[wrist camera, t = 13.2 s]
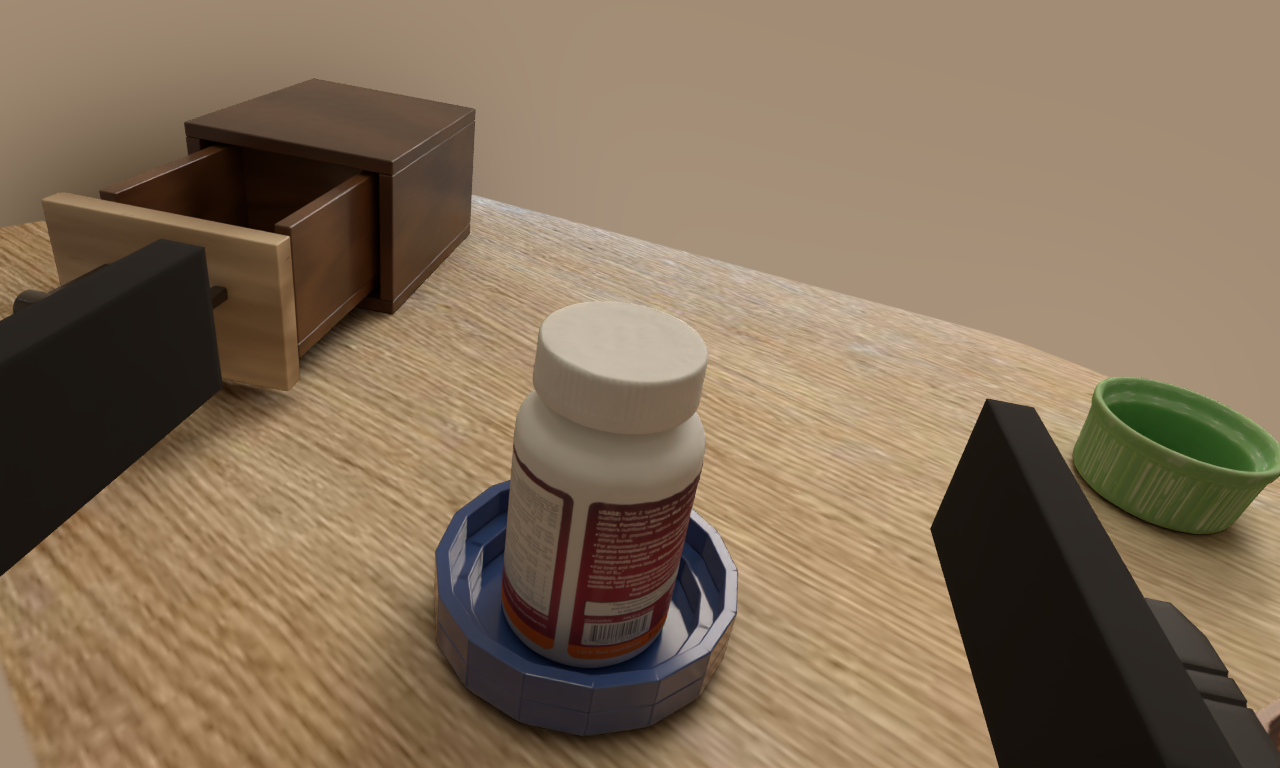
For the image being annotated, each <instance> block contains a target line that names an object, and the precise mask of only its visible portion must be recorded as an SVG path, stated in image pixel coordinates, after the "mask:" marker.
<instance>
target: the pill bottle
mask: <svg viewBox="0 0 1280 768" xmlns="http://www.w3.org/2000/svg"><path fill="white" fill-rule="evenodd" d="M707 363H708V349H707V346H706V344H705V342H704V340H703V338H702V337H701V336H700V335H699V334H698V332H697V331H696V330H694V329H693V328H692V327H691V326H689V325H688V324H686V323H685V322H683V321H682V320H680V319H678V318H676V317H674V316H672V315H670V314H667V313H665V312H662V311H660V310H656V309H653V308H650V307H646V306H641V305H637V304H631V303H624V302H612V301H591V302H584V303H578V304H573V305H569V306H566V307H563V308H560V309H558V310H556V311H554V312H553V313H551V314H550V315H549V316H548V317H547V318H546V319H545V320H544V321H543V322H542V324H541V326H540V330H539V335H538V343H537V351H536V359H535V364H534V371H533V384H534V388H535V389H534V390H533V391H532V392H531V393H530V394H529V395H528V396H527V398H526V399H525V400H524V402H523V403H522V405H521V407H520V409H519V412H518V415H517V418H516V424H515V431H514V443H513V456H512V469H511V481H510V493H509V505H508V517H507V529H506V541H505V552H504V562H503V573H502V590H501V599H502V606H503V611H504V614H505V617H506V620H507V622H508V624H509V625H510V627H511V629H512V630H513V632H514V633H515V634H516V635H517V636H518V638H519V639H520V640H521V641H522V642H523V643H524V644H525V645H526V646H528V647H529V648H530V649H532V650H533V651H535V652H536V653H538V654H540V655H542V656H544V657H546V658H548V659H550V660H552V661H555V662H558V663H561V664H565V665H569V666H573V667H580V668H599V667H605V666H610V665H614V664H618V663H621V662H624V661H626V660H629V659H631V658H633V657H635V656H637V655H638V654H640V653H641V652H643V651H644V650H645V649H646V648H647V647H649V646H650V645H651V644H652V643H653V642H654V641H655V639H656V638H657V637H658V635H659V634H660V632H661V631H662V629H663V626H664V624H665V621H666V618H667V615H668V611H669V606H670V602H671V599H672V594H673V590H674V586H675V581H676V577H677V574H678V569H679V563H680V559H681V554H682V551H683V545H684V541H685V536H686V532H687V528H688V523H689V519H690V515H691V510H692V506H693V502H694V498H695V493H696V489H697V485H698V482H699V480H700V473H701V470H702V466H703V458H704V454H705V445H706V440H705V432H704V428H703V425H702V422H701V420H700V418H699V416H698V414H697V412H696V410H697V408H698V406H699V402H700V398H701V394H702V387H703V382H704V377H705V373H706V368H707Z"/></svg>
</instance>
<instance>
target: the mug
mask: <svg viewBox="0 0 1280 768" xmlns="http://www.w3.org/2000/svg"><path fill="white" fill-rule="evenodd" d="M1255 714H1256V716H1257V717H1258V719H1259V721H1260V722H1261V724H1262V725H1263V727H1264V728H1265V730H1266V732H1267V733H1268V735H1269V736H1270V738H1271V739H1272V741H1273V743H1274V744H1275V746H1276V747H1277V749H1278V750H1279V752H1280V697H1279V698H1278V699H1276V700H1275V701H1273V702H1272V703H1270V704H1269V705H1267V706H1266V707H1264V708H1263V709H1261V710H1260V711H1258V712H1257V713H1255Z"/></svg>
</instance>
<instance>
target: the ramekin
mask: <svg viewBox="0 0 1280 768" xmlns="http://www.w3.org/2000/svg"><path fill="white" fill-rule="evenodd" d="M1073 460H1074V464H1075V466H1076V468H1077V470H1078V472H1079V473H1080V475H1081V476H1082V478H1083V479H1084V480H1085V481H1086V482H1087V483H1088V484H1089V485H1090V486H1091V487H1092V488H1093V489H1094V490H1095V491H1096V492H1097V493H1099V494H1100V495H1101V496H1103V497H1104V498H1105V499H1107V500H1108V501H1110V502H1111V503H1113V504H1114V505H1116V506H1118V507H1119V508H1121V509H1123V510H1124V511H1126V512H1128V513H1130V514H1132V515H1134V516H1136V517H1138V518H1140V519H1143V520H1145V521H1147V522H1150V523H1152V524H1155V525H1158V526H1161V527H1164V528H1168V529H1171V530H1176V531H1180V532H1186V533H1193V534H1210V533H1216V532H1219V531H1222V530H1225V529H1226V528H1228V527H1229V526H1231V525H1232V524H1233V523H1234V522H1235V521H1236V520H1237V519H1238V518H1239V517H1240V515H1241V514H1242V513H1243V512H1244V511H1245V509H1246V508H1247V507H1248V506H1249V505H1250V504H1251V502H1252V501H1253V500H1254V499H1255V498H1256V497H1257V496H1258V494H1259V493H1260V492H1261V491H1262V490H1263V489H1264V488H1265V487H1266V486H1267V484H1269V483H1271V482H1273V481H1274V480H1276V479H1277V478H1278V477H1279V476H1280V444H1279V443H1278V442H1277V441H1276V440H1275V439H1274V438H1273V437H1272V436H1271V435H1270V434H1269V433H1268V432H1266V431H1265V430H1264V429H1263V428H1261V427H1260V426H1259V425H1257V424H1256V423H1255V422H1253V421H1252V420H1250V419H1249V418H1247V417H1246V416H1244V415H1242V414H1240V413H1238V412H1237V411H1235V410H1233V409H1231V408H1230V407H1228V406H1225V405H1223V404H1221V403H1219V402H1218V401H1215V400H1213V399H1211V398H1208V397H1206V396H1203V395H1201V394H1198V393H1196V392H1193V391H1191V390H1188V389H1184V388H1182V387H1178V386H1175V385H1172V384H1168V383H1164V382H1159V381H1155V380H1149V379H1144V378H1135V377H1115V378H1109V379H1106V380H1103V381H1102V382H1100V383H1099V384H1098V385H1097V386H1096V388H1095V391H1094V393H1093V397H1092V406H1091V408H1090V411H1089V414H1088V416H1087V419H1086V421H1085V423H1084V426H1083V428H1082V430H1081V433H1080V435H1079V437H1078V440H1077V442H1076V444H1075V447H1074V450H1073Z"/></svg>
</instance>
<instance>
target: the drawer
mask: <svg viewBox="0 0 1280 768" xmlns="http://www.w3.org/2000/svg"><path fill="white" fill-rule="evenodd" d="M379 174H380V173H376V172H371V171H366V170H361V169H355V168H350V167H345V166H340V165H335V164H329V163H324V162H319V161H314V160H308V159H303V158H298V157H293V156H288V155H282V154H277V153H272V152H267V151H261V150H256V149H251V148H246V147H240V146H235V145H230V144H225V143H218V144H215V145H213V146H210V147H208V148H205V149H203V150H200V151H198V152H195V153H193V154H190V155H188V156H185V157H183V158H180V159H177V160H175V161H172V162H170V163H168V164H165V165H162V166H160V167H157V168H155V169H152V170H150V171H147V172H145V173H142V174H140V175H137V176H135V177H132V178H130V179H127V180H125V181H123V182H119V183H117V184H114V185H112V186H110V187H107V188H104V189H102V190H100V191H99V192H100V198H101V199H95V198H90V197H85V196H80V195H75V194H70V193H65V192H59V193H57V194H54V195H51V196H49V197H46V198H44V199H42V200H41V201H42V206H43V210H44V214H45V218H46V223H47V228H48V232H49V236H50V241H51V245H52V249H53V254H54V258H55V262H56V267H57V271H58V275H59V279H60V284H61V286H60V287H58V288H56V289H54V290H52V291H50V292H48V293H44V292H39V291H34V290H27V291H24V292H22V293H21V294H19V295H18V297H17V298H16V300H15V302H14V305H13V313H14V314H15V313H16V312H18V311H20V310H22V309H24V308H26V307H28V306H30V305H32V304H34V303H36V302H38V301H40V300H42V299H44V298H46V297H48V296H50V295H52V294H53V293H55V292H57V291H59V290H61V289H63V288H65V287H67V286H69V285H71V284H73V283H75V282H77V281H79V280H81V279H83V278H85V277H87V276H89V275H91V274H92V273H94V272H96V271H98V270H100V269H102V268H104V267H106V266H108V265H110V264H112V263H114V262H116V261H118V260H120V259H122V258H124V257H126V256H128V255H129V254H131V253H133V252H135V251H137V250H139V249H141V248H143V247H145V246H147V245H149V244H151V243H153V242H155V241H157V240H159V239H166V240H171V241H176V242H182V243H187V244H192V245H197V246H202V247H205V253H206V261H207V269H208V276H209V284H210V292H211V299H212V307H213V315H214V322H215V330H216V338H217V345H218V353H219V361H220V368H221V376H222V378H224V379H229V380H234V381H239V382H244V383H249V384H254V385H259V386H264V387H269V388H274V389H279V390H283V391H289V390H290V389H291V388H292V387H293V386H294V385H295V384H296V383H297V382H298V381H299V380H300V370H299V358H300V357H302V356H303V355H304V354H305V353H306V352H307V351H308V350H309V349H310V348H311V347H312V346H313V345H314V344H315V343H316V342H318V341H319V340H320V339H321V338H322V337H323V336H324V335H325V334H326V333H327V332H328V331H329V330H330V329H331V328H333V327H334V326H335V325H336V324H337V323H338V322H339V321H340V320H341V319H342V318H343V317H344V316H345V315H346V314H348V313H349V312H350V311H351V310H352V309H353V308H354V307H355V306H356V305H357V304H358V303H359V302H360V301H361V300H363V299H364V298H365V297H366V296H367V295H368V294H369V293H370V292H371V291H372V290H373V289H374V288H375V287H376V286H377V285H379V284H380V220H379Z"/></svg>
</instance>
